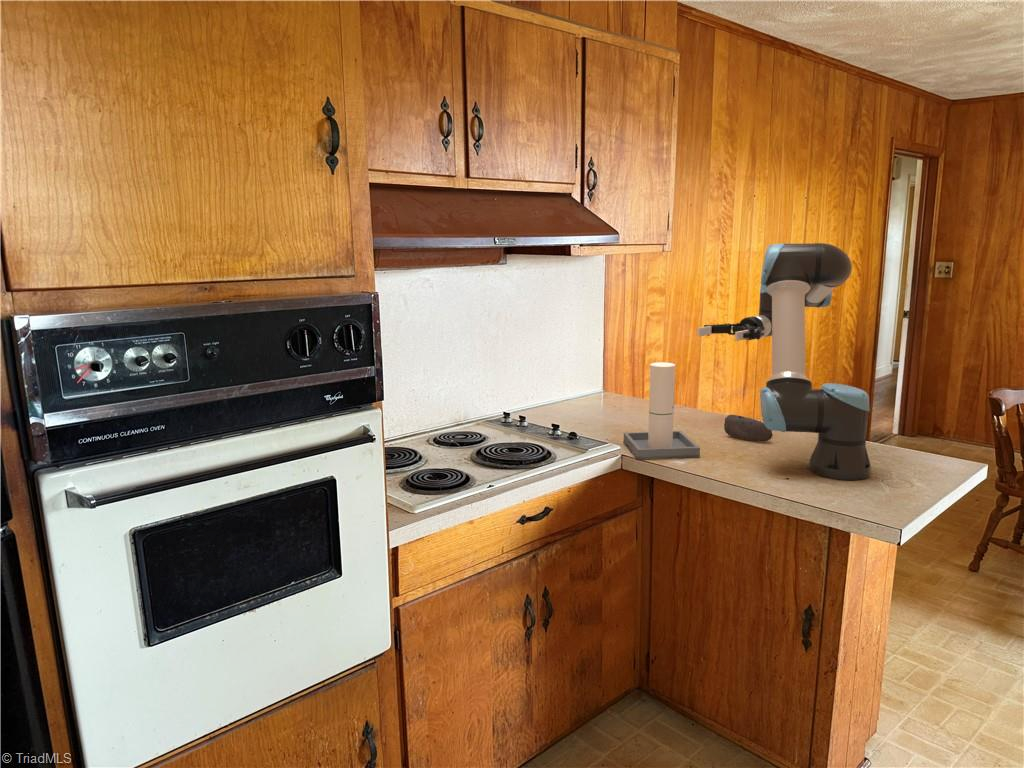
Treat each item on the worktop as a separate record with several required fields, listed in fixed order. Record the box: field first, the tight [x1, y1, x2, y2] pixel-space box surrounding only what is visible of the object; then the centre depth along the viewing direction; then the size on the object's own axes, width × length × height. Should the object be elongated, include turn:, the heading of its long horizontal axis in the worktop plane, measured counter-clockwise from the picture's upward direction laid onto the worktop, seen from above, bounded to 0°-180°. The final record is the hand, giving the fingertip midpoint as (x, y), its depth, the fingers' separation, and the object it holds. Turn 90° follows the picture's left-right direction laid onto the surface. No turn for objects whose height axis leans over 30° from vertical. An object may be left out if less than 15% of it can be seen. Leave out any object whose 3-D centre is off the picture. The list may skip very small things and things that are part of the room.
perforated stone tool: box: [723, 414, 773, 442], centre depth 225 cm, size 15×5×7 cm, turn 46°
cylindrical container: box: [647, 361, 676, 448], centre depth 214 cm, size 7×7×25 cm
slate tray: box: [623, 430, 701, 461], centre depth 217 cm, size 18×18×3 cm
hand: (716, 334), depth 227 cm, fingers open, 13 cm apart
